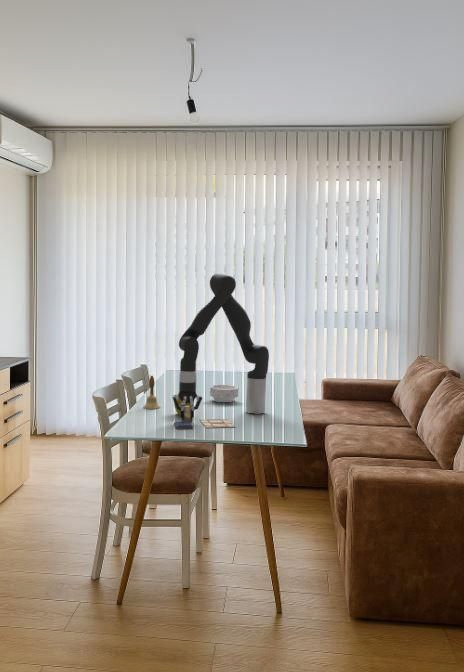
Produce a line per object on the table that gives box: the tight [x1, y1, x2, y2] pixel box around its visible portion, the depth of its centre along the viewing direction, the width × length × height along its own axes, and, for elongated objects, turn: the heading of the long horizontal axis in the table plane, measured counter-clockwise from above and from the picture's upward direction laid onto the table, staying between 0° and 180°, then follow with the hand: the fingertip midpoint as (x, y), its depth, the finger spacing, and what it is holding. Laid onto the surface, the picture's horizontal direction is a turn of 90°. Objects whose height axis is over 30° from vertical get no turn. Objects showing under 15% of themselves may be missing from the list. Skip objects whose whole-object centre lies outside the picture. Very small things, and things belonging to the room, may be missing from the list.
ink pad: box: [173, 420, 194, 430], centre depth 282 cm, size 9×7×2 cm
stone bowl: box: [209, 384, 240, 403], centre depth 345 cm, size 15×15×8 cm
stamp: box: [180, 406, 193, 424], centre depth 291 cm, size 5×5×7 cm
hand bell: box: [143, 375, 161, 410], centre depth 322 cm, size 8×8×16 cm
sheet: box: [199, 418, 236, 429], centre depth 290 cm, size 16×13×1 cm
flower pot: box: [172, 394, 195, 417], centre depth 307 cm, size 9×9×9 cm
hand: (186, 418), depth 291 cm, fingers closed on stamp, 3 cm apart
